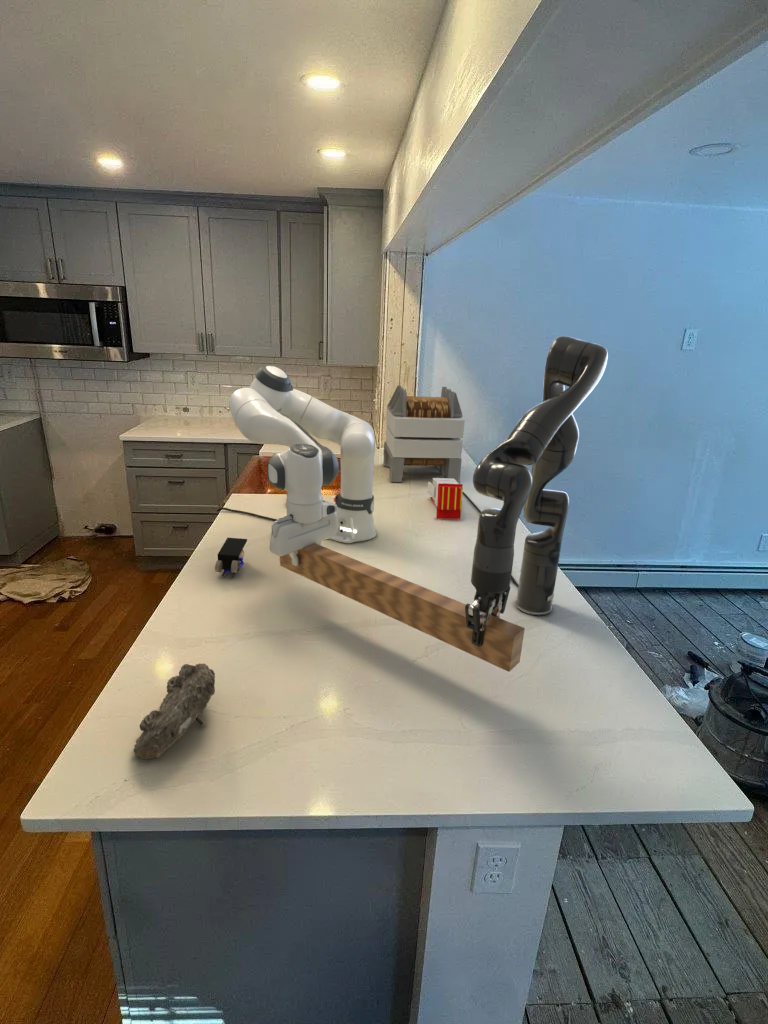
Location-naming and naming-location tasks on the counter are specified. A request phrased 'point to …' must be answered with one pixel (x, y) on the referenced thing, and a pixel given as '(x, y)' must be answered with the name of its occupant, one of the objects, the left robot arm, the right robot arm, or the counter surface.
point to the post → (409, 604)
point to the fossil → (176, 710)
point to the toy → (446, 497)
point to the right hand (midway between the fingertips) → (483, 639)
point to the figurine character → (230, 556)
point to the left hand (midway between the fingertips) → (304, 561)
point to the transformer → (423, 433)
